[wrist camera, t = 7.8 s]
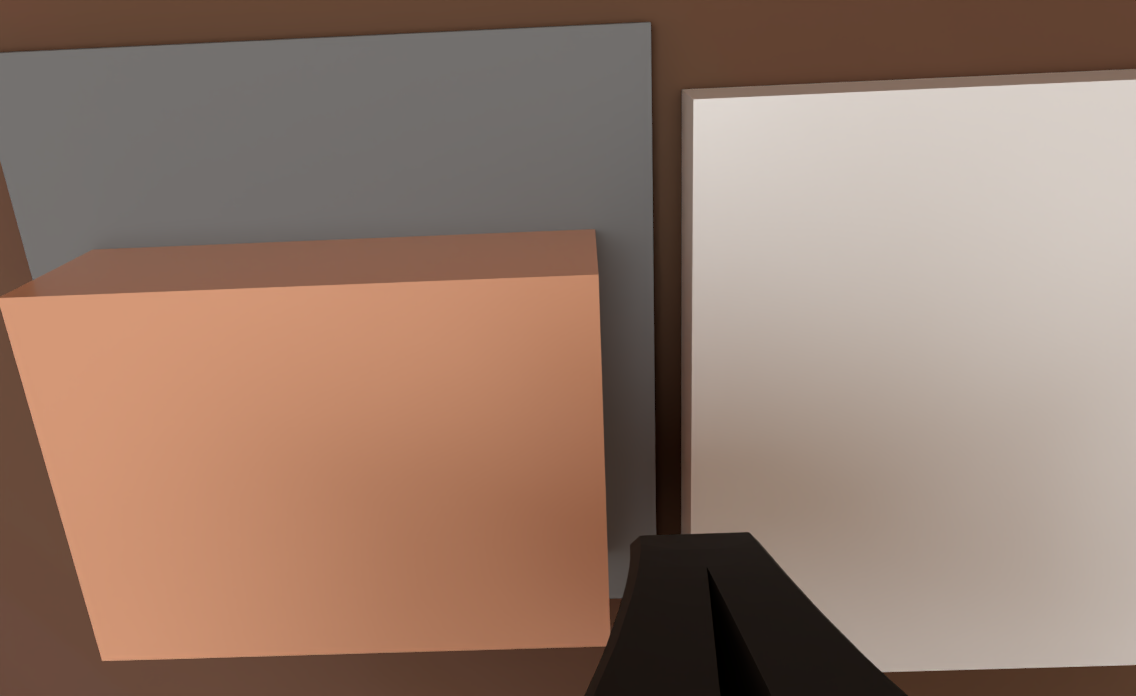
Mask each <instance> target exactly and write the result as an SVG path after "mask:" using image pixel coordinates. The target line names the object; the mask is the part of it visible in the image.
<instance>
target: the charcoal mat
mask: <svg viewBox="0 0 1136 696" xmlns="http://www.w3.org/2000/svg"><path fill="white" fill-rule="evenodd" d="M0 161H1V165H2V168H3V172H4V176H5V180H6V183H7V187H8V191H9V194H10V198H11V202H12V205H13V209H14V213H15V216H16V220H17V224H18V227H19V231H20V235H21V238H22V242H23V246H24V249H25V253H26V257H27V260H28V264H29V268H30V271H31V275H32V279H33V280H34V279H36V278H38V277H40V276H42V275H44V274H46V273H48V272H50V271H52V270H54V269H56V268H58V267H60V266H62V265H64V264H65V263H67V262H69V261H71V260H73V259H75V258H77V257H79V256H81V255H83V254H85V253H87V252H89V251H91V250H93V249H118V248H143V247H167V246H192V245H216V244H241V243H266V242H290V241H315V240H339V239H364V238H389V237H413V236H438V235H463V234H487V233H512V232H536V231H561V230H586V229H595V235H596V248H597V261H598V274H599V303H600V333H601V364H602V395H603V425H604V456H605V486H606V517H607V548H608V578H609V599H613V598H622V597H623V593H624V590H625V586H626V581H627V577H628V571H629V564H630V544H631V543H632V542H633V541H634V540H636V539H637V538H638V537H639V536H643V535H656V468H655V372H654V275H653V178H652V82H651V22H632V23H611V24H590V25H569V26H548V27H526V28H505V29H484V30H463V31H441V32H420V33H399V34H378V35H356V36H335V37H314V38H293V39H271V40H250V41H229V42H208V43H186V44H165V45H144V46H123V47H102V48H80V49H59V50H38V51H17V52H0Z"/></svg>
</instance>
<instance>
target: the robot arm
mask: <svg viewBox="0 0 1136 696" xmlns="http://www.w3.org/2000/svg"><path fill="white" fill-rule="evenodd" d="M585 696H908V695H907V694H905V693H904V692H903V691H902V690H901V689H900V688H899V687H898V686H896V685H895V684H894V683H893V682H892V681H891V680H890V679H889V678H888V677H887V676H885V675H884V674H883V673H882V672H881V671H880V670H879V669H878V668H877V667H876V666H875V665H874V664H873V663H872V662H871V661H870V660H869V659H868V658H867V657H865V656H864V655H863V654H862V653H861V652H860V651H859V650H858V649H857V648H856V647H855V646H854V645H853V643H852V642H851V641H850V640H849V639H848V638H847V637H846V636H845V635H844V634H843V633H842V632H841V631H840V630H839V629H838V628H837V627H836V626H835V625H834V624H833V623H832V622H831V621H830V620H829V619H828V618H827V617H826V616H825V615H824V614H823V613H822V612H821V611H820V610H819V609H818V608H817V607H816V606H815V605H814V604H813V602H812V601H811V600H810V599H809V598H808V597H807V596H806V595H805V594H804V593H803V591H802V590H801V589H800V588H799V587H798V586H797V585H796V584H795V583H794V582H793V580H792V579H791V578H790V577H789V576H788V575H787V574H786V573H785V571H784V570H783V569H782V568H781V567H780V566H779V565H778V563H777V562H776V561H775V560H774V559H773V558H772V556H771V555H770V554H769V553H768V552H767V551H766V549H765V548H764V547H763V546H762V545H761V544H760V543H759V541H758V540H757V539H756V538H755V537H753V536H752V535H751V534H750V533H749V532H735V533H704V534H674V535H643V536H639V537H638V538H637V539H636V540H634V541H633V542H632V543H631V544H630V564H629V571H628V577H627V581H626V586H625V590H624V593H623V597H622V601H621V604H620V608H619V611H618V614H617V617H616V619H615V622H614V625H613V628H612V631H611V633H610V636H609V639H608V642H607V645H606V648H605V650H604V653H603V655H602V658H601V660H600V663H599V665H598V667H597V669H596V671H595V674H594V676H593V678H592V680H591V682H590V685H589V687H588V689H587V691H586V693H585Z"/></svg>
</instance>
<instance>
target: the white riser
mask: <svg viewBox="0 0 1136 696" xmlns="http://www.w3.org/2000/svg"><path fill="white" fill-rule="evenodd" d="M735 532H749V533H750V534H751V535H752V536H753V537H755V538H756V539H757V540H758V541H759V543H760V544H761V545H762V546H763V547H764V548H765V549H766V551H767V552H768V553H769V554H770V555H771V556H772V558H773V559H774V560H775V561H776V562H777V563H778V565H779V566H780V567H781V568H782V569H783V570H784V571H785V573H786V574H787V575H788V576H789V577H790V578H791V579H792V580H793V582H794V583H795V584H796V585H797V586H798V587H799V588H800V589H801V590H802V591H803V593H804V594H805V595H806V596H807V597H808V598H809V599H810V600H811V601H812V602H813V604H814V605H815V606H816V607H817V608H818V609H819V610H820V611H821V612H822V613H823V614H824V615H825V616H826V617H827V618H828V619H829V620H830V621H831V622H832V623H833V624H834V625H835V626H836V627H837V628H838V629H839V630H840V631H841V632H842V633H843V634H844V635H845V636H846V637H847V638H848V639H849V640H850V641H851V642H852V643H853V645H854V646H855V647H856V648H857V649H858V650H859V651H860V652H861V653H862V654H863V655H864V656H865V657H867V658H868V659H869V660H870V661H871V662H872V663H873V664H874V665H875V666H876V667H877V668H878V669H879V670H880V671H881V672H906V671H941V670H976V669H1011V668H1046V667H1081V666H1116V665H1136V69H1123V70H1100V71H1078V72H1056V73H1034V74H1012V75H990V76H968V77H945V78H923V79H901V80H879V81H857V82H835V83H812V84H790V85H768V86H746V87H724V88H702V89H682V219H681V534H704V533H735Z"/></svg>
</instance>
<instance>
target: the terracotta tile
mask: <svg viewBox="0 0 1136 696" xmlns="http://www.w3.org/2000/svg"><path fill="white" fill-rule="evenodd" d="M0 307H1V311H2V314H3V318H4V321H5V325H6V328H7V332H8V335H9V339H10V342H11V346H12V349H13V353H14V356H15V360H16V363H17V366H18V370H19V373H20V377H21V380H22V384H23V387H24V391H25V394H26V398H27V401H28V405H29V408H30V412H31V415H32V419H33V422H34V425H35V429H36V432H37V436H38V439H39V443H40V446H41V450H42V453H43V457H44V460H45V464H46V467H47V471H48V474H49V478H50V481H51V485H52V488H53V491H54V495H55V498H56V502H57V505H58V509H59V512H60V516H61V519H62V523H63V526H64V530H65V533H66V537H67V540H68V544H69V547H70V550H71V554H72V557H73V561H74V564H75V568H76V571H77V575H78V578H79V582H80V585H81V589H82V592H83V596H84V599H85V603H86V606H87V609H88V613H89V616H90V620H91V623H92V627H93V630H94V634H95V637H96V641H97V644H98V648H99V651H100V655H101V658H102V661H118V660H152V659H187V658H221V657H256V656H290V655H325V654H359V653H394V652H428V651H463V650H497V649H532V648H566V647H601V646H606V645H607V642H608V639H609V636H610V609H609V578H608V548H607V517H606V486H605V456H604V425H603V395H602V364H601V333H600V303H599V274H598V261H597V248H596V235H595V229H586V230H561V231H536V232H512V233H487V234H463V235H438V236H413V237H389V238H364V239H339V240H315V241H290V242H266V243H241V244H216V245H192V246H167V247H143V248H118V249H93V250H91V251H89V252H87V253H85V254H83V255H81V256H79V257H77V258H75V259H73V260H71V261H69V262H67V263H65V264H64V265H62V266H60V267H58V268H56V269H54V270H52V271H50V272H48V273H46V274H44V275H42V276H40V277H38V278H36V279H34V280H32V281H30V282H28V283H26V284H24V285H23V286H21V287H19V288H17V289H15V290H13V291H11V292H9V293H7V294H5V295H3V296H1V297H0Z"/></svg>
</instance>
